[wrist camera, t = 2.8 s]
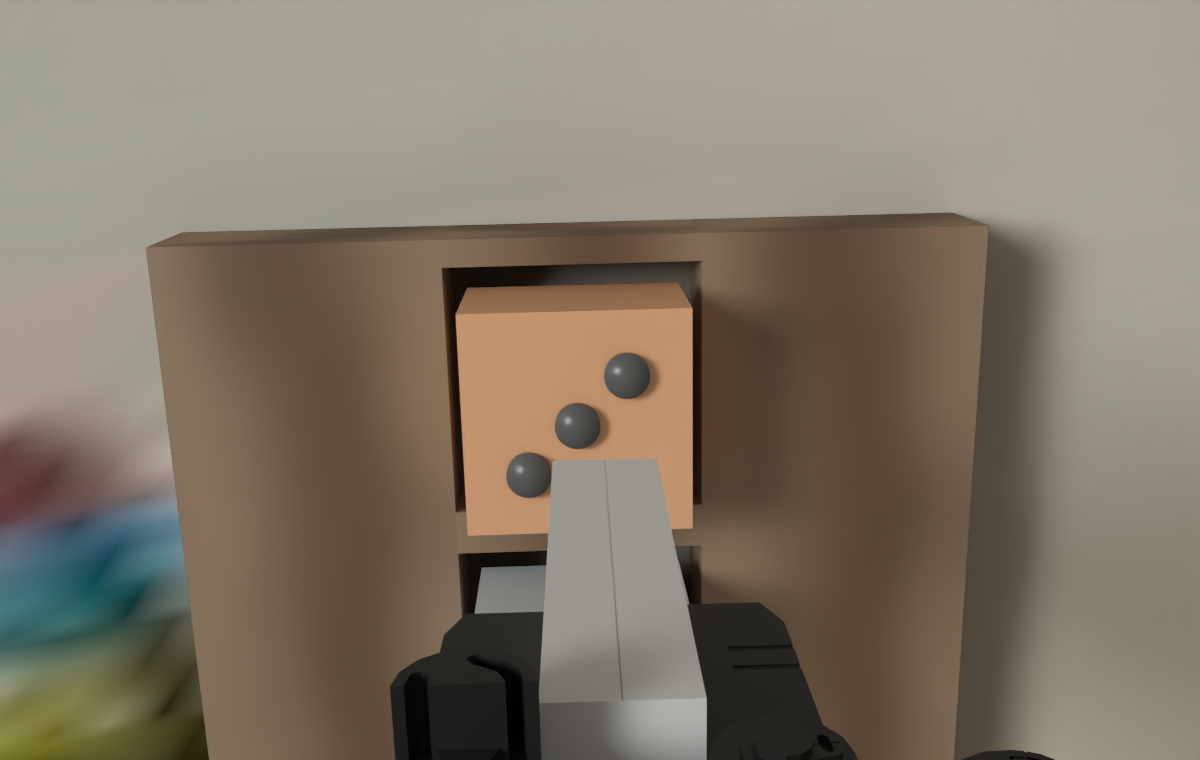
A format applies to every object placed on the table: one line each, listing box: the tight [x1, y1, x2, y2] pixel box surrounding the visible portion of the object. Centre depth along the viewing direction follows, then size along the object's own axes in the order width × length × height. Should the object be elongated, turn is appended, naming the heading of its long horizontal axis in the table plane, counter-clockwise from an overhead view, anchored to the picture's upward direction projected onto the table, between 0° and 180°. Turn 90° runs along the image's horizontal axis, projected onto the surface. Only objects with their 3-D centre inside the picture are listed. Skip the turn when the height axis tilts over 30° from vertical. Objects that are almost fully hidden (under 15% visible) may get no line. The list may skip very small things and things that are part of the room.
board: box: [146, 213, 989, 760], centre depth 28 cm, size 18×20×2 cm
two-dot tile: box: [474, 561, 689, 614], centre depth 26 cm, size 5×5×3 cm
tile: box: [456, 282, 693, 536], centre depth 24 cm, size 5×5×3 cm
